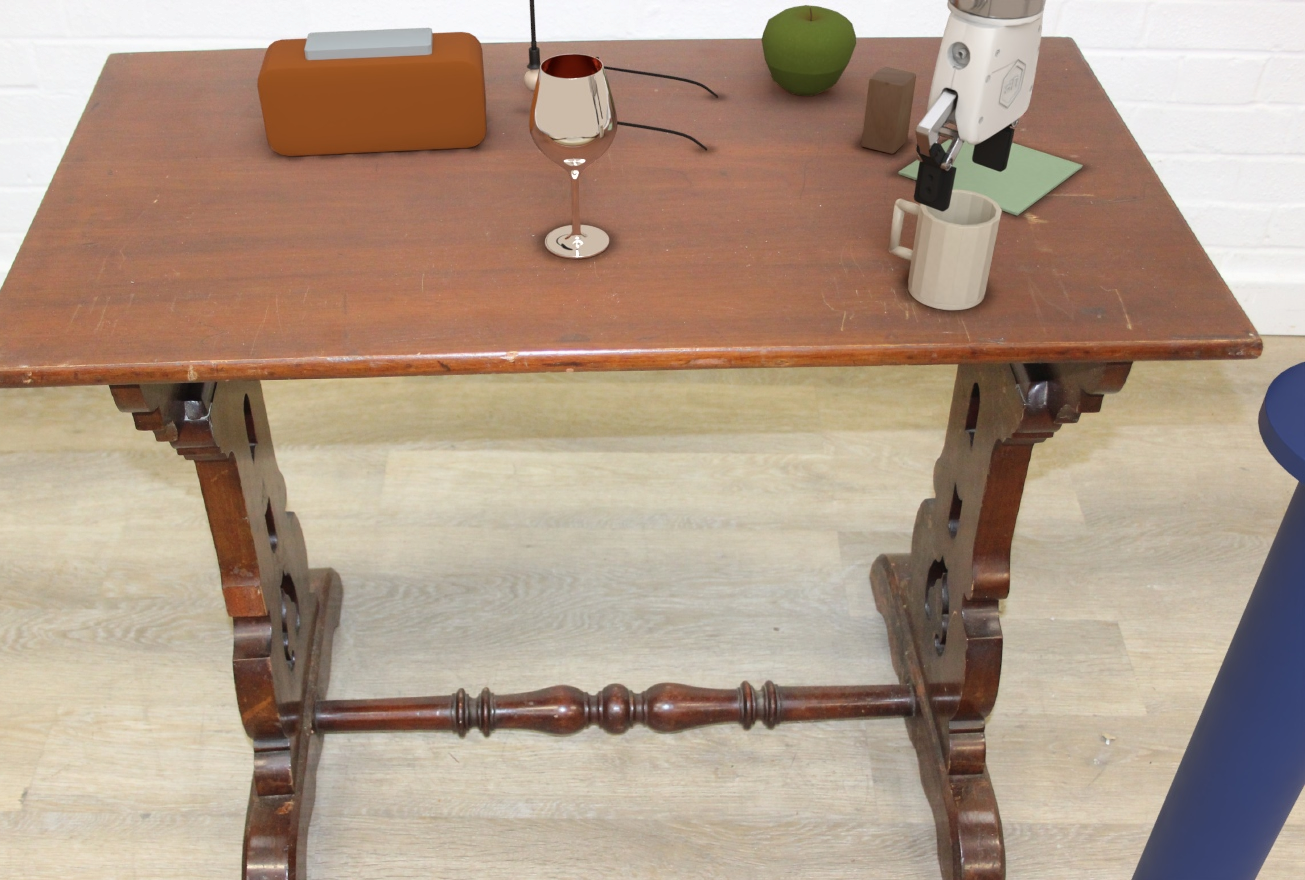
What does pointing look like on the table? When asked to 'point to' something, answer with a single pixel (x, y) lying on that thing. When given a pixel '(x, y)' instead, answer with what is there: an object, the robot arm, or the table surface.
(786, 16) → the apple
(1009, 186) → the mat
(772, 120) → the table surface
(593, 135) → the wineglass
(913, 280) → the mug
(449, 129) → the alarm clock
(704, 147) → the glasses
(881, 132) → the wooden block
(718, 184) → the table surface
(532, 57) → the light fixture
